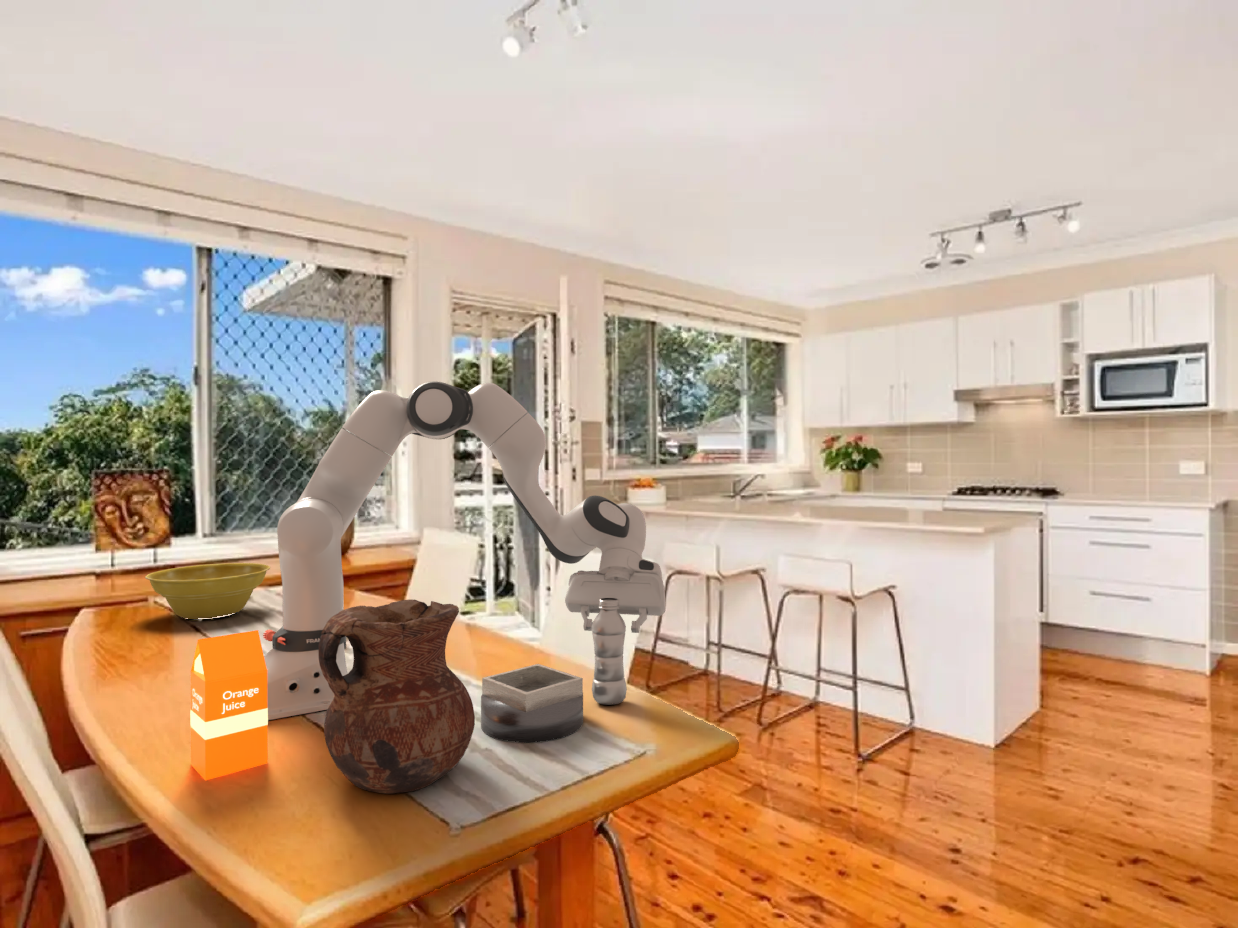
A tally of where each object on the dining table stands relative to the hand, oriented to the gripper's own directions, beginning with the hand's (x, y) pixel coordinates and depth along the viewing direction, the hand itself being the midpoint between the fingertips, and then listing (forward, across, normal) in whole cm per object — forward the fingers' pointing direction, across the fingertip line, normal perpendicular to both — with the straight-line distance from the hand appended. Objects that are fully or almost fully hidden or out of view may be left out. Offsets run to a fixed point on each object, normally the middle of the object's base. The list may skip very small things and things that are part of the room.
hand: (611, 630), depth 143 cm
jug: (+37, -24, -18) cm, 48 cm away
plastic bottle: (+11, 0, +8) cm, 14 cm away
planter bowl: (-26, -130, +46) cm, 140 cm away
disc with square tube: (+20, -11, -1) cm, 23 cm away
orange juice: (+38, -52, -19) cm, 67 cm away
